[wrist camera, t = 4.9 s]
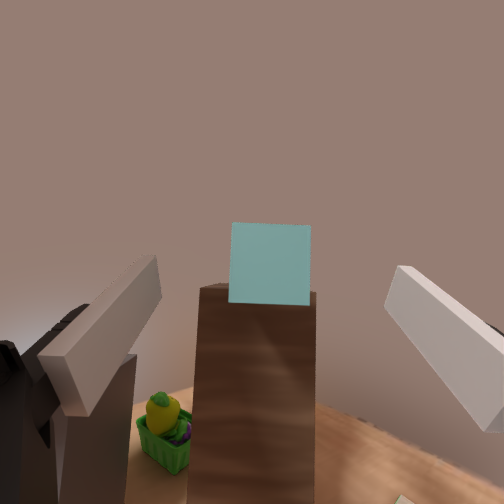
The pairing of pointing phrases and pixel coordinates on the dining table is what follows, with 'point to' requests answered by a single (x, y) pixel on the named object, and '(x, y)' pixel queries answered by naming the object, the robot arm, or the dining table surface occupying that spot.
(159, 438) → the fruit basket
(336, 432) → the dining table surface
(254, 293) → the bar
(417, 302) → the robot arm
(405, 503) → the stack of blocks
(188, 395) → the dining table surface
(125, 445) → the step
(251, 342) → the stand
